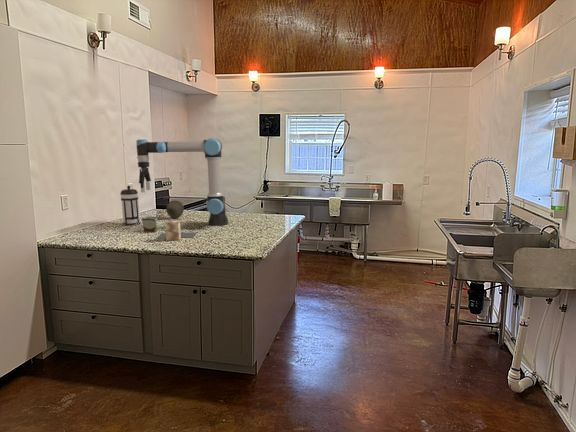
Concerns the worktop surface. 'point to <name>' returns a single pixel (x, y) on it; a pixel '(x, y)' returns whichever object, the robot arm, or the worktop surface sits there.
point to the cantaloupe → (175, 209)
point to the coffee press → (130, 206)
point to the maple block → (173, 231)
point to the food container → (149, 224)
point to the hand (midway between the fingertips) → (145, 191)
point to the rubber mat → (183, 235)
